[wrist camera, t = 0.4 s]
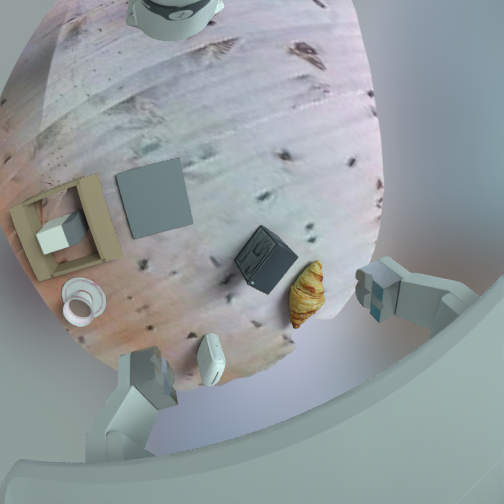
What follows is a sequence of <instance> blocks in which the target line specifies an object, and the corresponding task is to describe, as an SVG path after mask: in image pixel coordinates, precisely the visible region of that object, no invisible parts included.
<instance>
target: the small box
mask: <svg viewBox="0 0 504 504" xmlns="http://www.w3.org/2000/svg"><path fill="white" fill-rule="evenodd" d="M297 258H298V256H297V255H296V254H295V253H294V252H293V251H292V250H291V249H290V248H289V247H288V246H287V245H286V244H285V243H284V242H283V241H282V240H281V239H280V238H279V237H278V236H277V235H275V234H274V233H273V232H271V231H270V230H268V229H267V228H265V227H264V226H262V225H260V227H259V228H258V229H257V231H256V232H255V233H254V234H253V236H252V237H251V238H250V240H249V241H248V242H247V244H246V245H245V246H244V248H243V249H242V250H241V252H240V253H239V254H238V256H237V257H236V258H235V260H234V261H235V263H236V264H237V266H238V268H239V270H240V271H241V273H242V275H243V277H244V278H245V280H246V282H247V285H249V286H251V287H253V288H255V289H257V290H259V291H261V292H263V293H265V294H267V295H268V294H269V293H270V292H271V291H272V290H273V288H274V287H275V286H276V285H277V283H278V282H279V281H280V280H281V278H282V277H283V276H284V275H285V273H286V272H287V271H288V270H289V268H290V267H291V266H292V265H293V263H294V262H295V261H296V260H297Z"/></svg>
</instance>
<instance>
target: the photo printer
mask: <svg viewBox="0 0 504 504" xmlns="http://www.w3.org/2000/svg"><path fill="white" fill-rule="evenodd" d="M197 362H198V366H199V371H200V375H201V379H202V382H203V383H204V384H205V385H206V386H213V385H215V384H216V383H217V382H218V380H219V379H220V377H221V375H222V373H223V371H224V368H225V357H224V354H223V351H222V348H221V345H220V342H219V338H218V336H216V334H214V333H207V334H205V336H204V338H203V340H202V342H201V344H200V347H199V350H198V353H197Z"/></svg>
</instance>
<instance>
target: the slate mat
mask: <svg viewBox="0 0 504 504" xmlns="http://www.w3.org/2000/svg"><path fill="white" fill-rule="evenodd" d="M116 177H117V181H118V185H119V189H120V193H121V197H122V200H123V204H124V207H125V211H126V214H127V217H128V221H129V224H130V227H131V231H132V234H133V237H134V239H136V238H140V237H143V236H147V235H151V234H154V233H158V232H162V231H166V230H170V229H174V228H177V227H181V226H185V225H189V224H193V220H192V215H191V211H190V206H189V202H188V197H187V192H186V187H185V182H184V177H183V172H182V167H181V162H180V158H176V159H171V160H167V161H163V162H159V163H155V164H151V165H148V166H144V167H140V168H137V169H133V170H130V171H126V172H123V173H120V174H116Z"/></svg>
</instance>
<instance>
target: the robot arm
mask: <svg viewBox="0 0 504 504" xmlns="http://www.w3.org/2000/svg"><path fill="white" fill-rule="evenodd" d="M223 7H224V4H223V2H222V0H130V1H129V6H128V11H127V16H126V24H127V25H129V26H132V27H136V28H139V29H141V30H142V31H143V32H144V33H145V34H147V35H148V36H150V37H152V38H154V39H157V40H161V41H178V40H183V39H186V38H189V37H191V36H193V35H195V34H197V33H198V32H200V31H201V30H202V29H203V28H204V27H205V26H206V25H207V24H208V22H209V21H210V19H211V18H212V17H213V16H214V15H216V14H217V13H219V12H220V11H222V10H223ZM132 14H134V16H131V15H132ZM356 279H357V280H358V283H357V285H356V287H355V289H356V296H357V299H358V301H359V302H360V304H361V305H362V306H363V307H365V308H369V309H370V314H371V315H372V316H373V317H374V318H375V319H376V320H377V321H378V322H379V323H381V322H382V321H384V320H386V319H388V318H390V317H392V316H394V315H395V316H397V317H400V318H402V319H405V320H408V321H410V322H413V323H416V324H418V325H421V326H423V327H426V328H428V329H431V333H430V336H429V340H428V341H427V342H426V343H425V344H423V345H422V346H420V347H419V348H417V349H416V350H415V351H414V352H412V353H410V354H409V355H407V356H406V357H405V358H403V359H401V360H400V361H398V362H397V363H395V364H394V365H392V366H391V367H389V368H387V369H386V370H384V371H383V372H381V373H379V374H378V375H376V376H374V377H373V378H371V379H369V380H367V381H366V382H364V383H362V384H361V385H359V386H357V387H355V388H353V389H351V390H350V391H348V392H346V393H344V394H342V395H340V396H338V397H336V398H334V399H332V400H330V401H328V402H326V403H324V404H322V405H319V406H317V407H315V408H313V409H311V410H309V411H306V412H304V413H302V414H300V415H297V416H295V417H292V418H290V419H288V420H285V421H282V422H280V423H277V424H275V425H272V426H269V427H267V428H264V429H261V430H258V431H255V432H252V433H250V434H246V435H243V436H240V437H237V438H233V439H230V440H227V441H223V442H220V443H216V444H213V445H208V446H204V447H201V448H196V449H192V450H187V451H182V452H177V453H172V454H167V455H161V456H155V455H154V454H152V453H151V452H149V451H147V450H146V449H144V448H145V445H146V443H147V440H148V437H149V435H150V432H151V430H152V427H153V424H154V422H155V419H156V417H157V414H158V410H161V409H165V408H169V407H172V406H176V405H178V401H177V395H176V390H175V389H174V388H173V387H172V385H173V383H174V382H175V381H174V375H173V372H172V369H171V367H170V365H169V363H168V361H167V360H166V359H164V358H162V357H161V351H160V350H159V349H158V347H157V346H152V347H149V348H145V349H141V350H138V351H134V352H131V353H127V354H123V355H120V357H119V363H118V380H117V389H115V390H114V391H113V392H112V394H111V395H110V397H109V398H108V400H107V401H106V403H105V405H104V406H103V408H102V409H101V411H100V412H99V414H98V416H97V417H96V419H95V421H94V422H93V424H92V425H91V427H90V429H89V430H88V432H87V433H86V463H65V462H44V461H33V460H25V459H22V460H18V461H17V462H16V463H15V464H14V466H13V467H12V468H11V469H10V471H9V473H8V474H7V476H6V477H5V479H4V480H3V482H2V485H1V489H0V504H504V273H503V275H502V276H501V277H500V278H499V279H498V280H497V281H496V282H495V283H494V284H493V285H492V286H491V287H490V288H489V289H488V290H487V291H486V292H485V293H484V294H483V295H482V296H481V297H480V296H478V295H477V294H476V293H475V292H473V291H472V290H471V289H470V288H468V287H467V286H465V285H464V284H463V283H461V282H457V281H453V280H448V279H443V278H438V277H433V276H428V275H423V274H418V273H413V274H411V273H410V272H409V271H407V270H406V269H404V268H403V267H402V266H401V265H399V264H398V263H396V262H395V261H394V260H392V259H391V258H389V257H387V256H386V257H383V258H381V259H379V260H377V261H375V262H373V263H371V264H368V265H366V266H364V267H362V268H360V269H358V270H357V271H356Z"/></svg>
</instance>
